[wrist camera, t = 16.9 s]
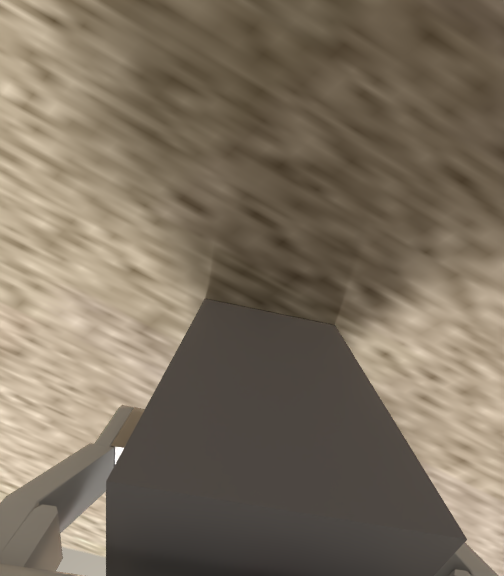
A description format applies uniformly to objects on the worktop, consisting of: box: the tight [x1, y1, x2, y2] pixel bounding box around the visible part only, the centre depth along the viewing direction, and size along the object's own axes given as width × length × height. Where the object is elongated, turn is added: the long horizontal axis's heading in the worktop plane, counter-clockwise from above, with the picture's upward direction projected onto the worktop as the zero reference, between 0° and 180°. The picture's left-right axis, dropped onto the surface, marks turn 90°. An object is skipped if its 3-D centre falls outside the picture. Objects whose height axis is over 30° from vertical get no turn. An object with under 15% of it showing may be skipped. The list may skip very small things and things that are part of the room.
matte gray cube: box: [106, 299, 467, 576], centre depth 10 cm, size 7×7×9 cm
